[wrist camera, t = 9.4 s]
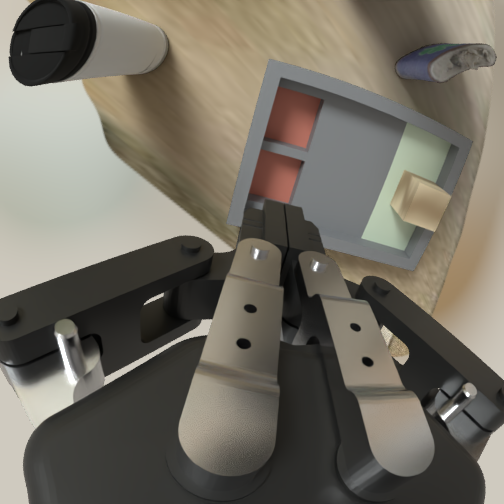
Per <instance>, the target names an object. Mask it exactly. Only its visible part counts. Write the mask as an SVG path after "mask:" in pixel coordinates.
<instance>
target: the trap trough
mask: <svg viewBox="0 0 504 504" xmlns="http://www.w3.org/2000/svg"><path fill="white" fill-rule="evenodd" d="M472 143H473V141H471V140H470V139H468V138H466V137H464V136H463V135H461V134H459V133H457V132H456V131H454V130H452V129H450V128H448V127H446V126H444V125H442V124H441V123H439V122H437V121H435V120H433V119H431V118H429V117H427V116H425V115H423V114H421V113H419V112H416V111H414V110H412V109H410V108H408V107H406V106H403V105H401V104H399V103H397V102H395V101H392V100H390V99H388V98H385V97H383V96H380V95H378V94H376V93H373V92H371V91H368V90H365V89H363V88H360V87H358V86H355V85H352V84H350V83H347V82H344V81H341V80H338V79H336V78H333V77H330V76H327V75H324V74H321V73H317V72H314V71H311V70H308V69H304V68H301V67H298V66H294V65H291V64H287V63H283V62H280V61H276V60H272V59H269V61H268V65H267V68H266V72H265V76H264V79H263V83H262V86H261V90H260V94H259V97H258V101H257V105H256V109H255V112H254V116H253V120H252V124H251V127H250V131H249V135H248V139H247V143H246V146H245V150H244V154H243V158H242V162H241V166H240V170H239V174H238V178H237V182H236V186H235V190H234V194H233V198H232V202H231V206H230V210H229V214H228V218H227V223H226V224H230V225H234V226H238V227H241V224H242V219H243V215H244V212H245V211H246V210H247V209H249V208H250V207H251V208H255V209H260V210H262V208H263V204H264V201H265V199H268V200H273V201H277V202H281V203H283V204H284V203H286V204H290V205H294V206H298V207H302V210H303V214H304V219H305V220H307V221H311V222H312V223H313V224H314V225H315V226H316V227H317V228H318V229H319V233H320V237H321V240H322V243H323V247H324V248H327V249H331V250H334V251H338V252H342V253H346V254H350V255H354V256H358V257H361V258H365V259H369V260H373V261H377V262H380V263H384V264H388V265H392V266H395V267H399V268H403V269H407V270H410V271H414V269H415V268H416V266H417V264H418V262H419V260H420V258H421V256H422V255H423V253H424V251H425V249H426V247H427V245H428V243H429V241H430V239H431V237H432V235H433V233H434V231H431V230H428V229H426V228H423V227H420V226H417V225H414V224H411V223H408V222H406V221H403V220H402V218H401V217H400V216H399V215H398V213H397V212H396V211H395V210H394V208H393V207H392V206H391V205H390V203H391V200H392V198H393V196H394V193H395V191H396V189H397V186H398V184H399V181H400V179H401V176H402V174H403V171H404V170H406V171H409V172H411V173H414V174H416V175H418V176H421V177H423V178H425V179H428V180H430V181H432V182H434V183H436V184H437V185H438V186H439V187H441V188H442V189H443V190H444V191H446V192H447V193H448V194H449V195H450V196H451V195H452V193H453V190H454V188H455V186H456V183H457V181H458V179H459V176H460V174H461V171H462V169H463V166H464V164H465V161H466V159H467V156H468V154H469V151H470V148H471V146H472Z"/></svg>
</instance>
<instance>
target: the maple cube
mask: <svg viewBox="0 0 504 504" xmlns="http://www.w3.org/2000/svg"><path fill="white" fill-rule="evenodd" d="M451 197H452V196H450V195H449V194H448V193H447V192H446V191H444V190H443V189H442V188H441V187H439V186H438V185H437V184H436V183H434V182H432V181H430V180H428V179H425V178H423V177H421V176H418V175H416V174H414V173H411V172H409V171H406V170H404V171H403V174H402V176H401V179H400V181H399V184H398V186H397V189H396V191H395V193H394V196H393V198H392V200H391V203H390V205H391V206H392V207H393V208H394V210H395V211H396V212H397V213H398V215H399V216H400V217H401V218H402V220H403V221H406V222H408V223H411V224H414V225H417V226H420V227H423V228H426V229H428V230H431V231H434V232H435V230H436V228H437V226H438V224H439V222H440V220H441V218H442V216H443V214H444V212H445V210H446V208H447V205H448V203H449V201H450V199H451Z"/></svg>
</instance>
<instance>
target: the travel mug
mask: <svg viewBox="0 0 504 504" xmlns="http://www.w3.org/2000/svg"><path fill="white" fill-rule="evenodd" d="M13 31H14V33H13V36H12V39H11V44H10V56H11V57H9V65H10V69H11V72H12V74H13V76H14V77H15V78H16V80H17V81H19V82H20V83H22V84H23V85H25V86H37V85H42V84H48V83H57V82H65V81H72V80H79V79H87V78H96V77H106V76H118V75H132V74H144V73H148V72H150V71H153V70H154V69H156V68H157V67H158V66H159V65H160V64H161V63H162V62H163V60H164V59H165V57H166V55H167V52H168V39H167V36H166V34H165V32H164V31H163V30H162V29H161V28H160V27H158V26H157V25H154V24H151V23H149V22H146V21H143V20H140V19H138V18H135V17H132V16H129V15H126V14H123V13H120V12H117V11H114V10H111V9H108V8H104V7H101V6H98V5H94V4H91V3H87V2H83V1H80V0H35V1H34V2H32V3H31V4H30V5H29V6H28V7H27V8H26V9H25V10H24V11H23V12H22V13H21V15H20V16H19V18H18V20H17V22H16V24H15V27H14V29H13Z"/></svg>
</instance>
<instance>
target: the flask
mask: <svg viewBox="0 0 504 504" xmlns="http://www.w3.org/2000/svg"><path fill="white" fill-rule="evenodd" d="M496 58H497V57H496V54H495V51H494V50H493V48H492V47H491V46H489V45H487V44H447V43H446V44H442V43H440V44H432V45H427V46H425V47H421V48H420V49H418V50H415V51H413V52H411V53H410V54H407V55H405V56H404V57H402V58H401V59H399V60H398V61H397V62H396V64H395V70H396V73H397V74H398V75H399V77H401V78H404V79H418V80H426V81H433V82H437V83H443V82H446V81H448V80H449V79H451V78H452V77H454V76H455V75H457V74H459V73H462V72H464V71H467V70H469V69H475V70H478V67H489V66H493V65H494V64H495V61H496Z"/></svg>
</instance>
